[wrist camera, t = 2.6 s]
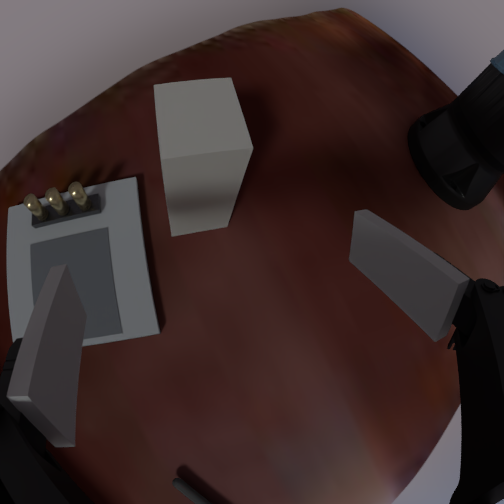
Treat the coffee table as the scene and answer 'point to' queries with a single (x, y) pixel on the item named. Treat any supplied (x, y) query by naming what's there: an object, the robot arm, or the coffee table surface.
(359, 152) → the coffee table surface
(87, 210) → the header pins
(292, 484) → the coffee table surface
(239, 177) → the plug block
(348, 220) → the coffee table surface
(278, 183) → the coffee table surface
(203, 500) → the walkie-talkie
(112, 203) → the board
